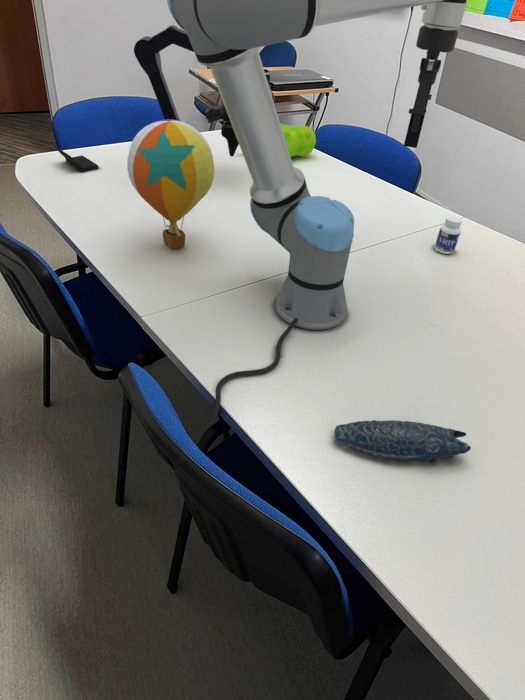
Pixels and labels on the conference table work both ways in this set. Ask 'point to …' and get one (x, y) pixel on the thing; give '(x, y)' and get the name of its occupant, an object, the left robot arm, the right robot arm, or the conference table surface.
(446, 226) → the pill bottle
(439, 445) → the fish model
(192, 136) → the toy
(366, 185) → the conference table surface
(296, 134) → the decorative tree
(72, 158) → the black flat handled piece
